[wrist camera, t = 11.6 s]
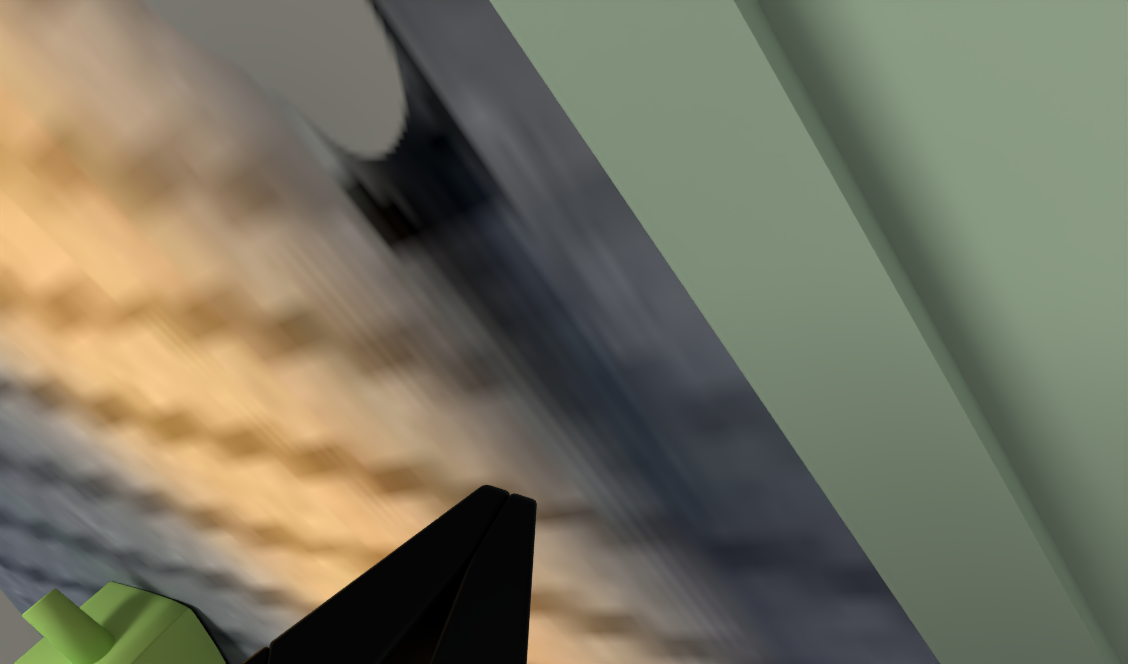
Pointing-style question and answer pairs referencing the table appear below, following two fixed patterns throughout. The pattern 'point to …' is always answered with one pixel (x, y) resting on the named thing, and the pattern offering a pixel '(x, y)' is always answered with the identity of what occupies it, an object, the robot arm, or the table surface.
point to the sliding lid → (900, 271)
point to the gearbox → (118, 630)
